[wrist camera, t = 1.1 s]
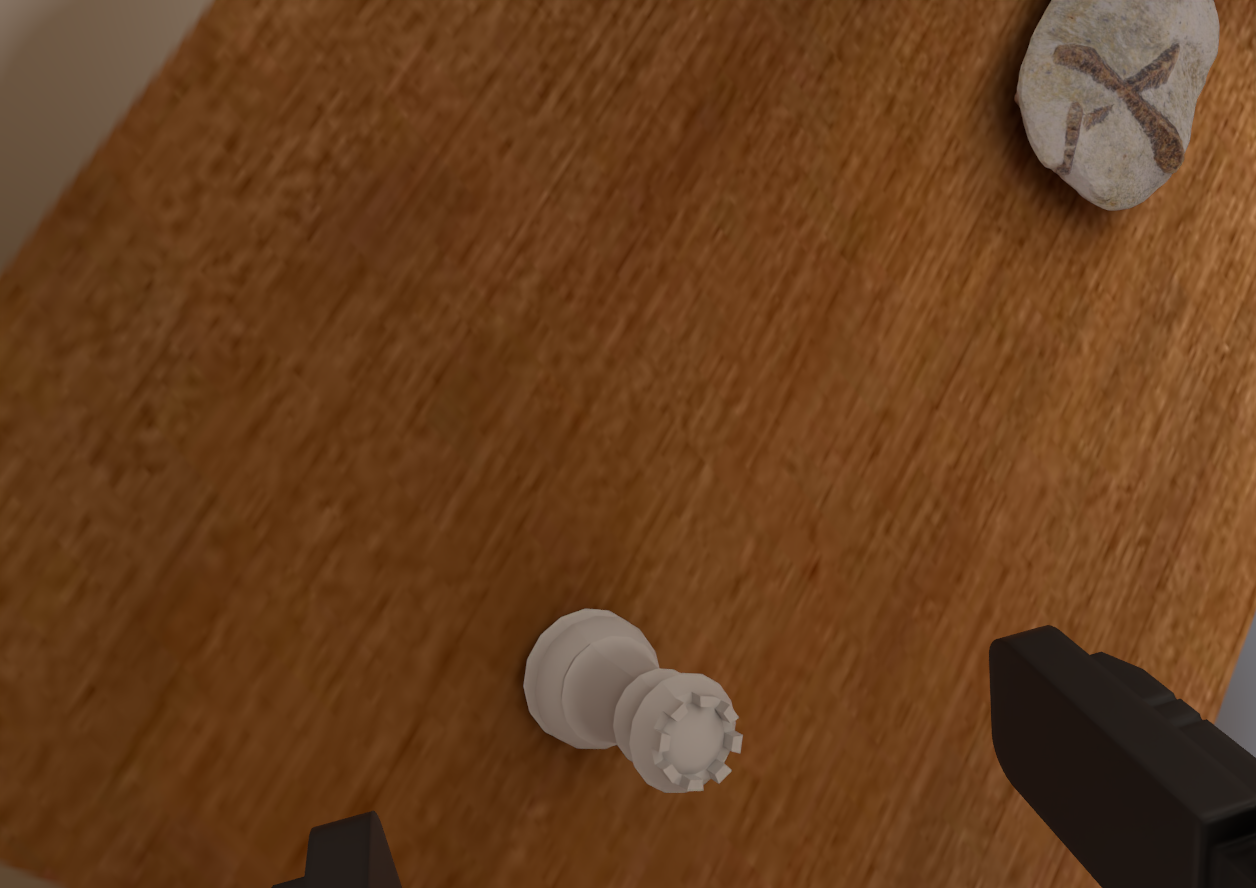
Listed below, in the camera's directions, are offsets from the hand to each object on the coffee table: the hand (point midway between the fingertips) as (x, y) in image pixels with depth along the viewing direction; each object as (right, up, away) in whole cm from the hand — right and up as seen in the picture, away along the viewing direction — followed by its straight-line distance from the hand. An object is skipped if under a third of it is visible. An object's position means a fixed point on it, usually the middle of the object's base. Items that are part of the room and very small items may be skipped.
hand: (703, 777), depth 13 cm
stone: (+19, +20, +31) cm, 41 cm away
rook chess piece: (-3, -3, +21) cm, 22 cm away
